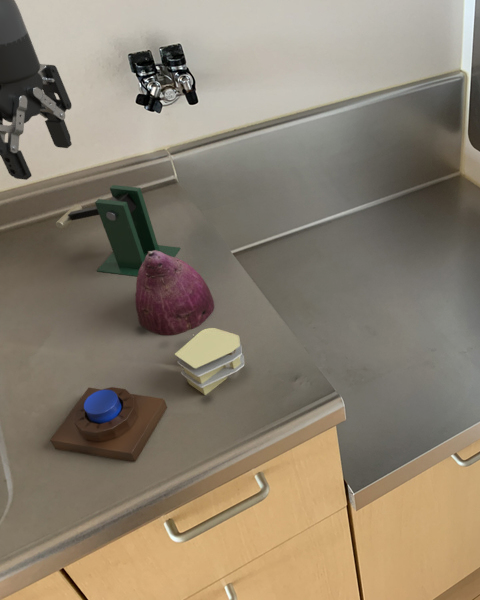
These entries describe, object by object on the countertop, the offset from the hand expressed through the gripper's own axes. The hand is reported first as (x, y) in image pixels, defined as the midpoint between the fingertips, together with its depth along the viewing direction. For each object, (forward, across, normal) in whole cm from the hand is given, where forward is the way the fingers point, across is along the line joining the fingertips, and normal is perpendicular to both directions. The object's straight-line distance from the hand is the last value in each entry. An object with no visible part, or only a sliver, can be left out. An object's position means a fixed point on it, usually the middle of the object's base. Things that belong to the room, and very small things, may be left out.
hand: (44, 161), depth 80 cm
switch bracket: (+20, -5, +5) cm, 22 cm away
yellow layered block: (+21, +14, +26) cm, 36 cm away
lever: (+12, -5, +1) cm, 13 cm away
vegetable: (+21, +4, +16) cm, 27 cm away
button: (+17, +24, +18) cm, 35 cm away
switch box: (+21, +24, +18) cm, 36 cm away
